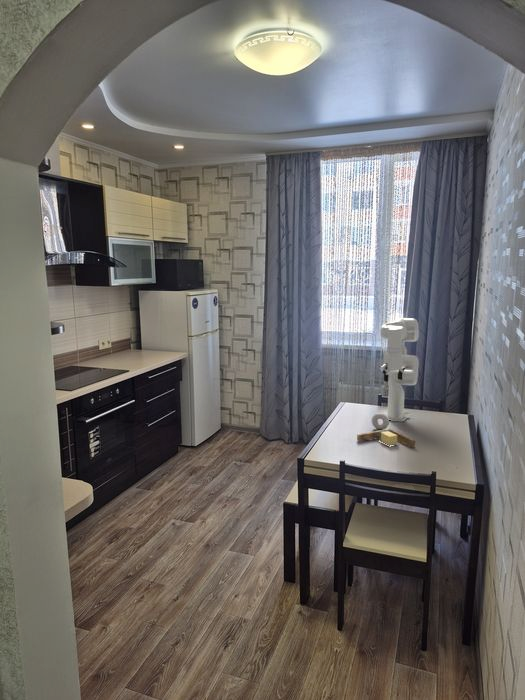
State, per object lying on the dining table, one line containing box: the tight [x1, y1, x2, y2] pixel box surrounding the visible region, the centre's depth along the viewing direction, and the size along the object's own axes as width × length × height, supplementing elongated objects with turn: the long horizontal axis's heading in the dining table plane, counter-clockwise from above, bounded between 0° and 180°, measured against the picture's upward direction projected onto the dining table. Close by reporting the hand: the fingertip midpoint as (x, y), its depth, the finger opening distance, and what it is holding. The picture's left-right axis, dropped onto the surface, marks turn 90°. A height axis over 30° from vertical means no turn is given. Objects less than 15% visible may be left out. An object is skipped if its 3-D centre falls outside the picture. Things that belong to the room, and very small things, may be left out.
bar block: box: [379, 431, 398, 446], centre depth 246 cm, size 8×5×5 cm, turn 24°
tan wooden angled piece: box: [356, 428, 416, 449], centre depth 245 cm, size 22×20×4 cm
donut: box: [371, 412, 390, 430], centre depth 267 cm, size 10×4×10 cm, turn 63°
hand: (393, 380), depth 258 cm, fingers open, 9 cm apart
